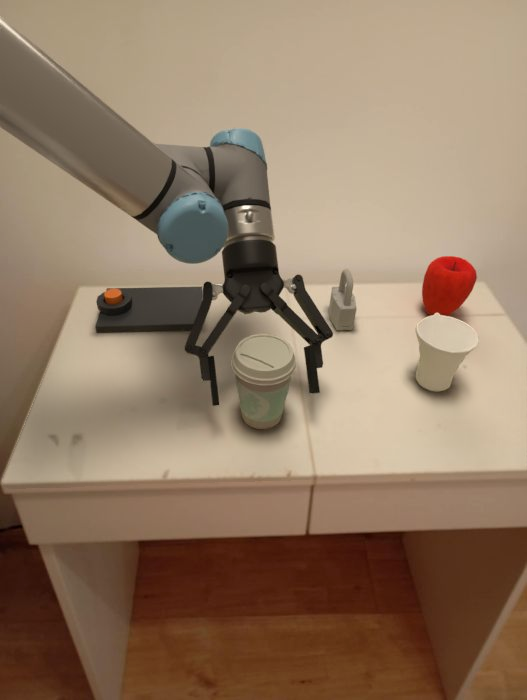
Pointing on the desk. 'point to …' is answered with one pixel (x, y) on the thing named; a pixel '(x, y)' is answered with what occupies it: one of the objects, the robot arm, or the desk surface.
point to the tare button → (113, 296)
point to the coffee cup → (263, 378)
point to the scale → (150, 310)
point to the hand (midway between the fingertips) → (266, 399)
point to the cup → (442, 349)
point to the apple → (447, 284)
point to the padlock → (343, 303)
